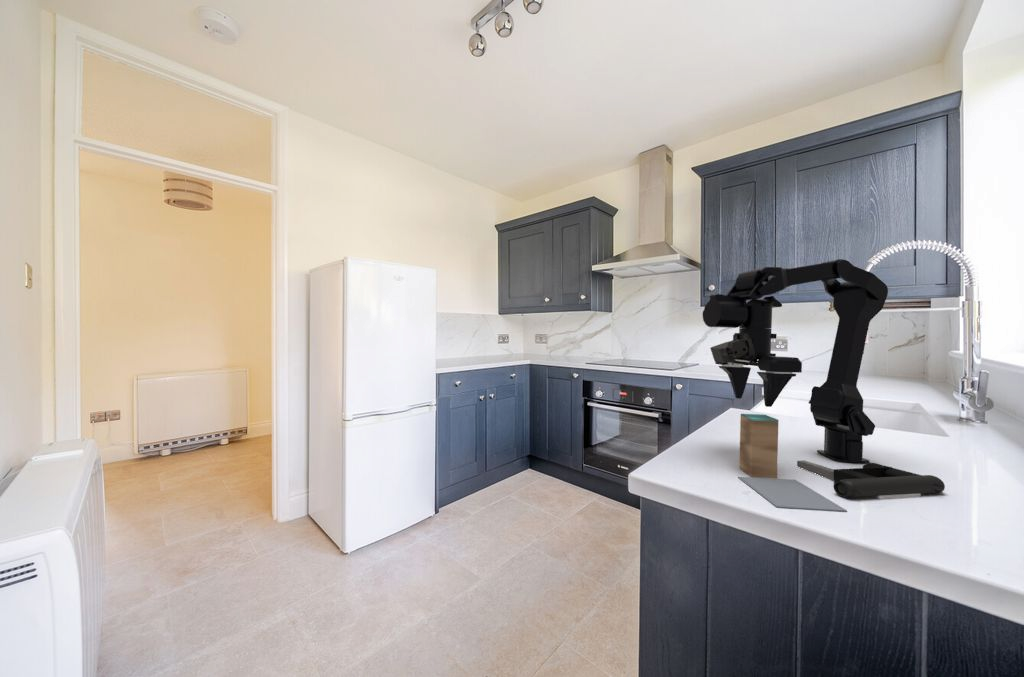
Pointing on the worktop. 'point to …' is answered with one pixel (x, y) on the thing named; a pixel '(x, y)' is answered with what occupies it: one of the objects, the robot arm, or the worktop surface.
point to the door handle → (876, 481)
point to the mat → (790, 494)
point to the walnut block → (758, 445)
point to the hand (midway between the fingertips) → (752, 402)
